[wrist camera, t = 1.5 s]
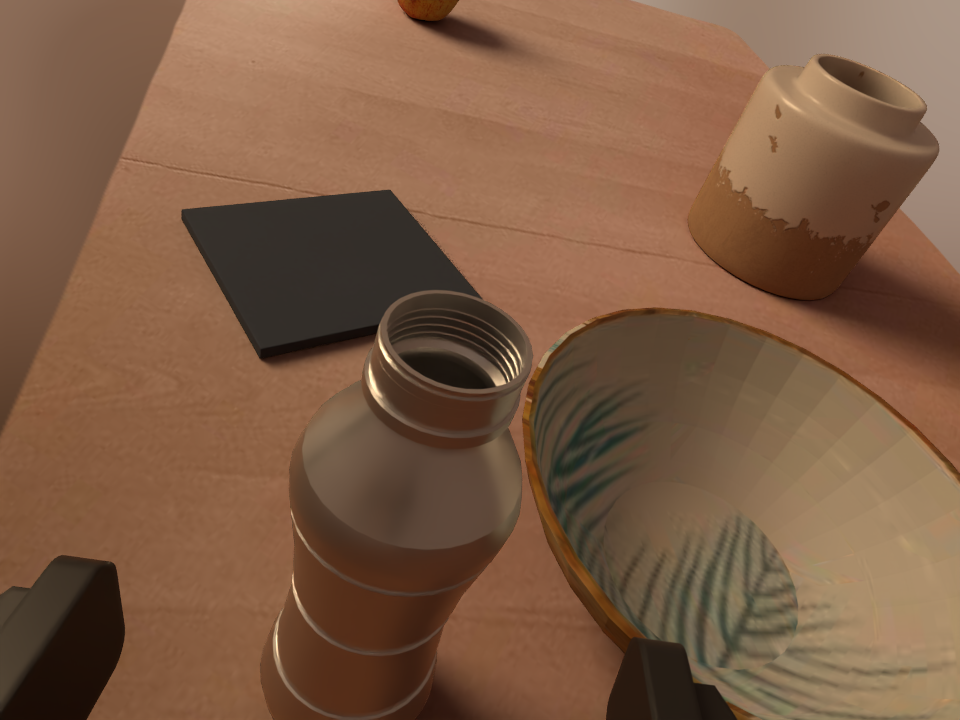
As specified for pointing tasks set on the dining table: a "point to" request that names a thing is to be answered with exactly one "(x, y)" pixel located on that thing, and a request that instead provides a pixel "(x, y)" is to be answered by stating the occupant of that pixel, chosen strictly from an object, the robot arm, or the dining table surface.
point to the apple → (427, 8)
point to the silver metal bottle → (397, 509)
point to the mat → (318, 265)
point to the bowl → (750, 516)
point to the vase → (812, 175)
